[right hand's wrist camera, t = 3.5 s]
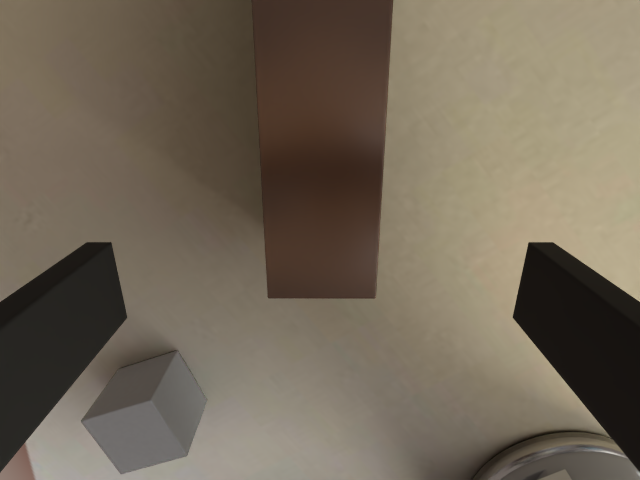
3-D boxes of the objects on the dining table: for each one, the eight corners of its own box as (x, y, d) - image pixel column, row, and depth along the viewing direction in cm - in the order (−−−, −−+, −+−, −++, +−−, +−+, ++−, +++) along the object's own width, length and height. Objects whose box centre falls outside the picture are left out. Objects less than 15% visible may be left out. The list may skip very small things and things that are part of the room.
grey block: (177, 349, 29) (150, 400, 24) (207, 400, 31) (187, 456, 26) (118, 368, 29) (79, 421, 25) (150, 417, 31) (120, 475, 26)
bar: (264, -283, 17) (220, -573, 10) (380, -283, 17) (426, -575, 10) (283, 237, 26) (267, 298, 18) (360, 237, 26) (375, 299, 18)
